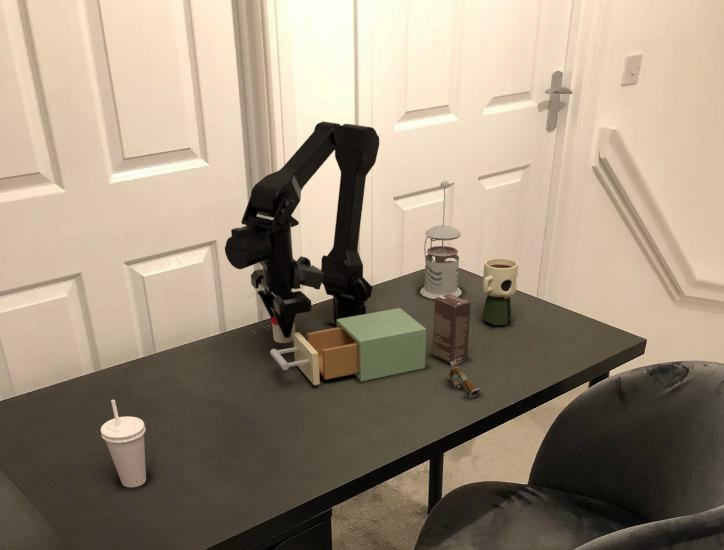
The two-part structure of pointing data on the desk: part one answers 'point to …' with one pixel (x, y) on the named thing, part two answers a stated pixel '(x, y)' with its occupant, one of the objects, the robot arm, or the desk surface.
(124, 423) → the smoothie
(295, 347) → the pod drawer
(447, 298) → the box
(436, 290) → the french press
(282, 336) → the cylinder
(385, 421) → the desk surface
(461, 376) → the wooden post with brackets
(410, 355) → the green drawer cabinet
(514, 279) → the character mug
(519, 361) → the desk surface
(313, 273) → the robot arm
